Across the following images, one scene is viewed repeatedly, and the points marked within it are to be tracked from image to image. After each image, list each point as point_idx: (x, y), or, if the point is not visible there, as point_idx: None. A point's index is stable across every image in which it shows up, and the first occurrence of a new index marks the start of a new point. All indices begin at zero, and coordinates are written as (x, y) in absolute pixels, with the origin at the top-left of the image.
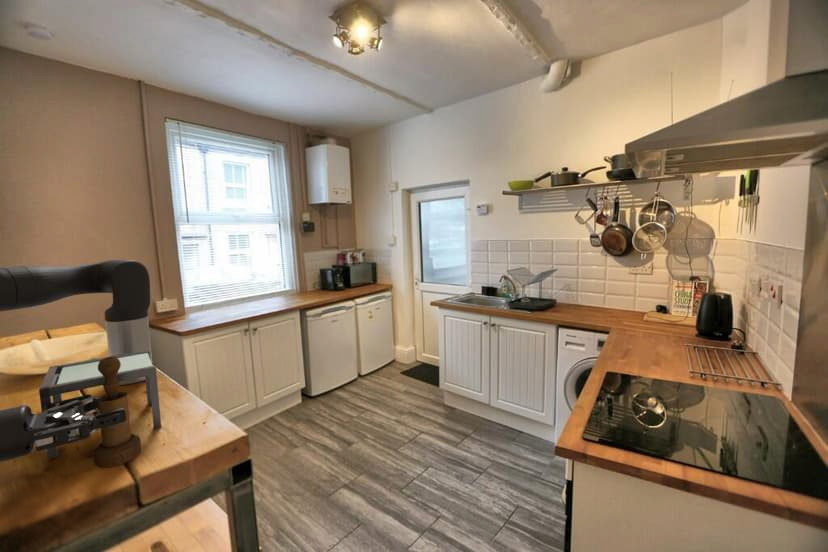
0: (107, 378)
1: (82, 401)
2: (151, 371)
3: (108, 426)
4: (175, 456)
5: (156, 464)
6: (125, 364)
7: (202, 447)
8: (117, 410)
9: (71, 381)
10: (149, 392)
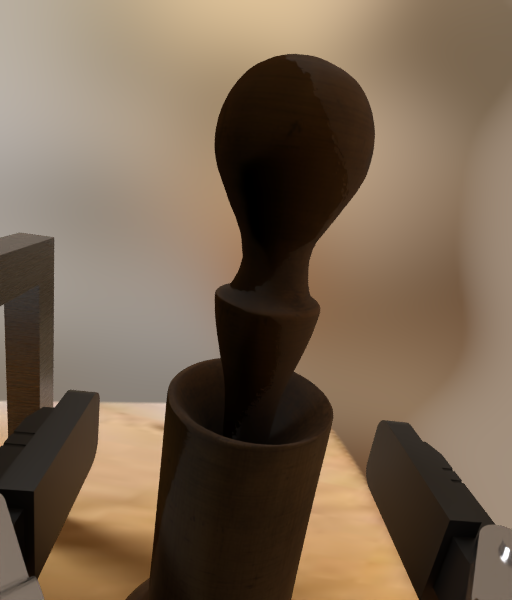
0: (311, 252)
1: (32, 576)
2: (44, 261)
3: (294, 578)
4: (339, 519)
5: (368, 571)
6: None
7: (322, 463)
8: (414, 437)
9: None
10: None
